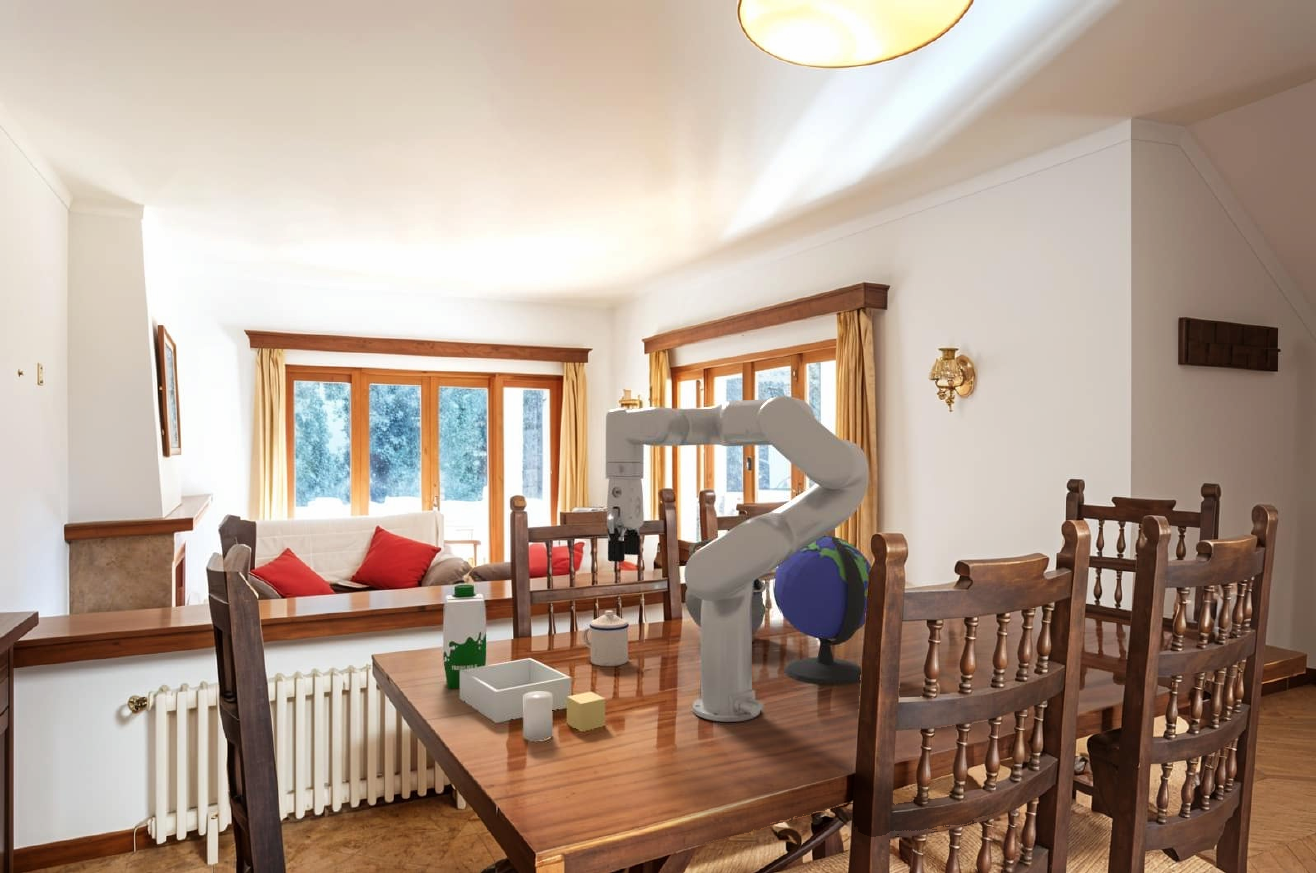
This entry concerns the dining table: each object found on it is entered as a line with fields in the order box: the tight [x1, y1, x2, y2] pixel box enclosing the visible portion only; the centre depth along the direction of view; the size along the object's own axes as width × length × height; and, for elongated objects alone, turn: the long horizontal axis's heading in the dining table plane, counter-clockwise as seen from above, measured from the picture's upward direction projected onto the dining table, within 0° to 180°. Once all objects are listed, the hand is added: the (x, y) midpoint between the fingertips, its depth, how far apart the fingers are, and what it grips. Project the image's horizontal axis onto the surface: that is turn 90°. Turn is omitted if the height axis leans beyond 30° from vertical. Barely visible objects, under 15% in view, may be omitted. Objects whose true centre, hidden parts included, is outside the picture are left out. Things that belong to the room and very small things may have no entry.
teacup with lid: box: [582, 609, 630, 667], centre depth 186 cm, size 12×9×12 cm
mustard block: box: [566, 691, 606, 732], centre depth 143 cm, size 5×5×5 cm
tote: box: [459, 657, 572, 724], centre depth 156 cm, size 17×15×6 cm
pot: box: [684, 539, 767, 642], centre depth 205 cm, size 21×21×25 cm
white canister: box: [522, 691, 554, 741], centre depth 138 cm, size 5×5×7 cm
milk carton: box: [442, 584, 487, 690], centre depth 169 cm, size 9×9×20 cm
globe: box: [772, 535, 872, 686], centre depth 176 cm, size 22×22×30 cm
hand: (624, 557), depth 159 cm, fingers open, 9 cm apart
